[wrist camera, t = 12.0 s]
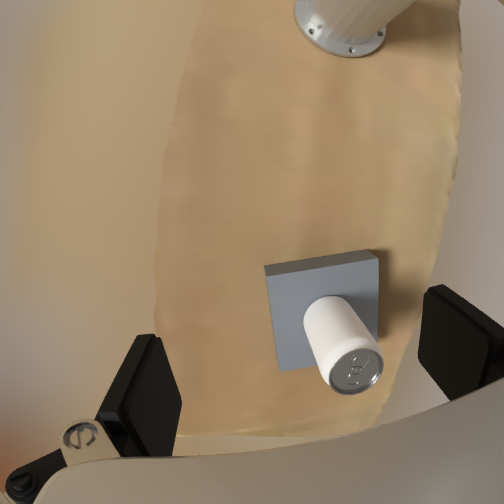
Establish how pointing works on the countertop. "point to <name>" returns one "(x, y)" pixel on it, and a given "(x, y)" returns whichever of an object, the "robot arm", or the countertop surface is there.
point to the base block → (313, 288)
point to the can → (342, 346)
